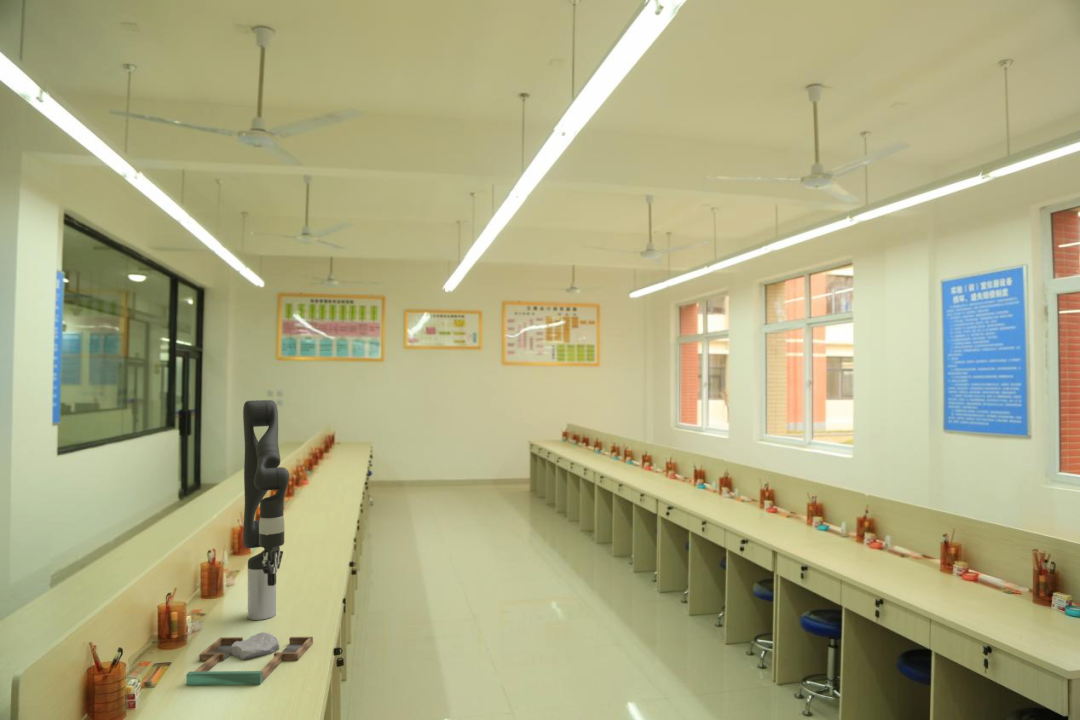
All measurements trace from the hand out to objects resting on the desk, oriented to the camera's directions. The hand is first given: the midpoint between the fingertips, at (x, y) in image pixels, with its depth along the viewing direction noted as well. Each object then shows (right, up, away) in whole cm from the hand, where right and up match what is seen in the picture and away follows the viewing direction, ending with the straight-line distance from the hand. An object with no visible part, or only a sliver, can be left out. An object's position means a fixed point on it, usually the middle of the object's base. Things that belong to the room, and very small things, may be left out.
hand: (271, 585), depth 216 cm
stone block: (0, -17, -11) cm, 20 cm away
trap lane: (0, -16, -19) cm, 25 cm away
